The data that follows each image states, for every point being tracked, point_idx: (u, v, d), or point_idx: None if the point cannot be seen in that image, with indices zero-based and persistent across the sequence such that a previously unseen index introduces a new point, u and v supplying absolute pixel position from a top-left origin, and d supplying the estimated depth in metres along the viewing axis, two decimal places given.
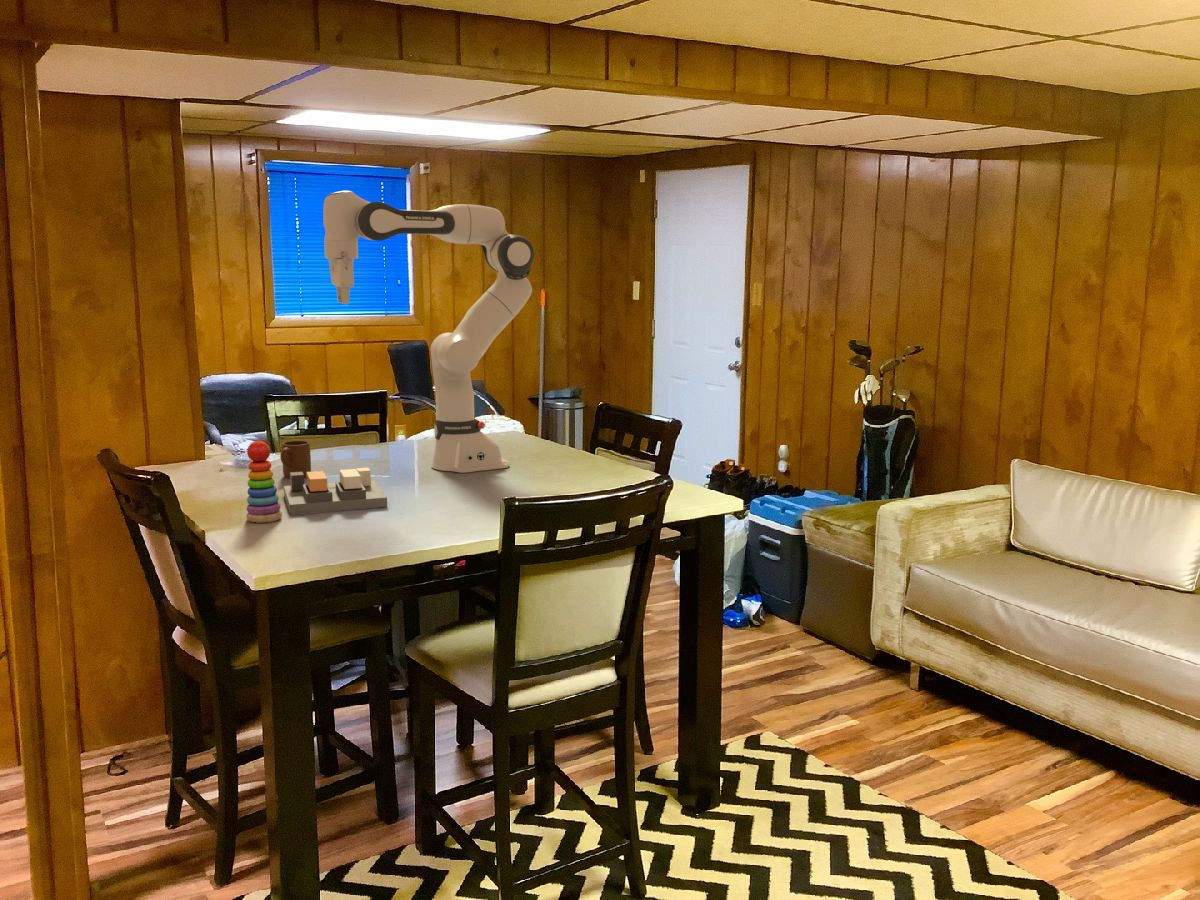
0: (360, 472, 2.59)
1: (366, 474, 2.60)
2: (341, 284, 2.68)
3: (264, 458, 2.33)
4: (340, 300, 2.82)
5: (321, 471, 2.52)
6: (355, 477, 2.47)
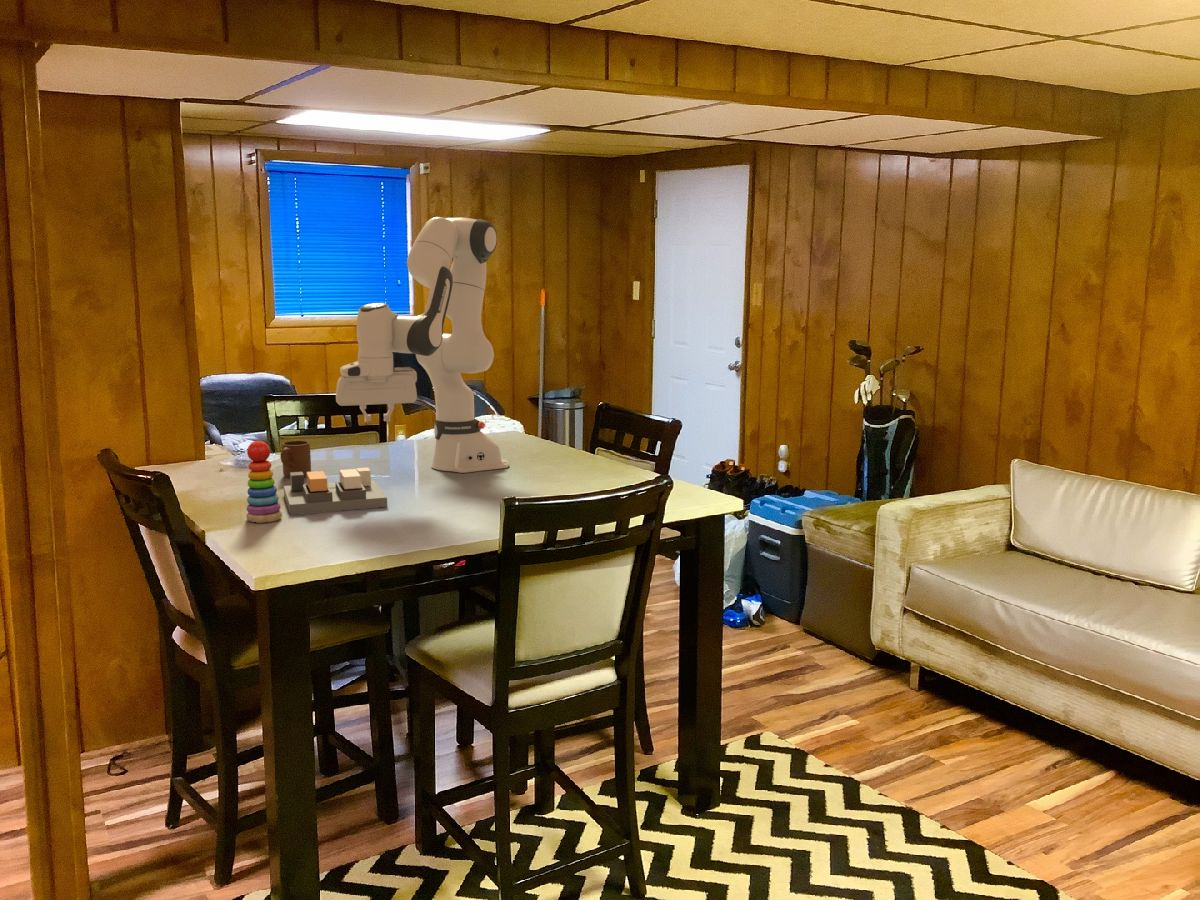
0: (360, 472, 2.59)
1: (366, 474, 2.60)
2: (415, 399, 2.61)
3: (264, 458, 2.33)
4: None
5: (321, 471, 2.52)
6: (355, 477, 2.47)
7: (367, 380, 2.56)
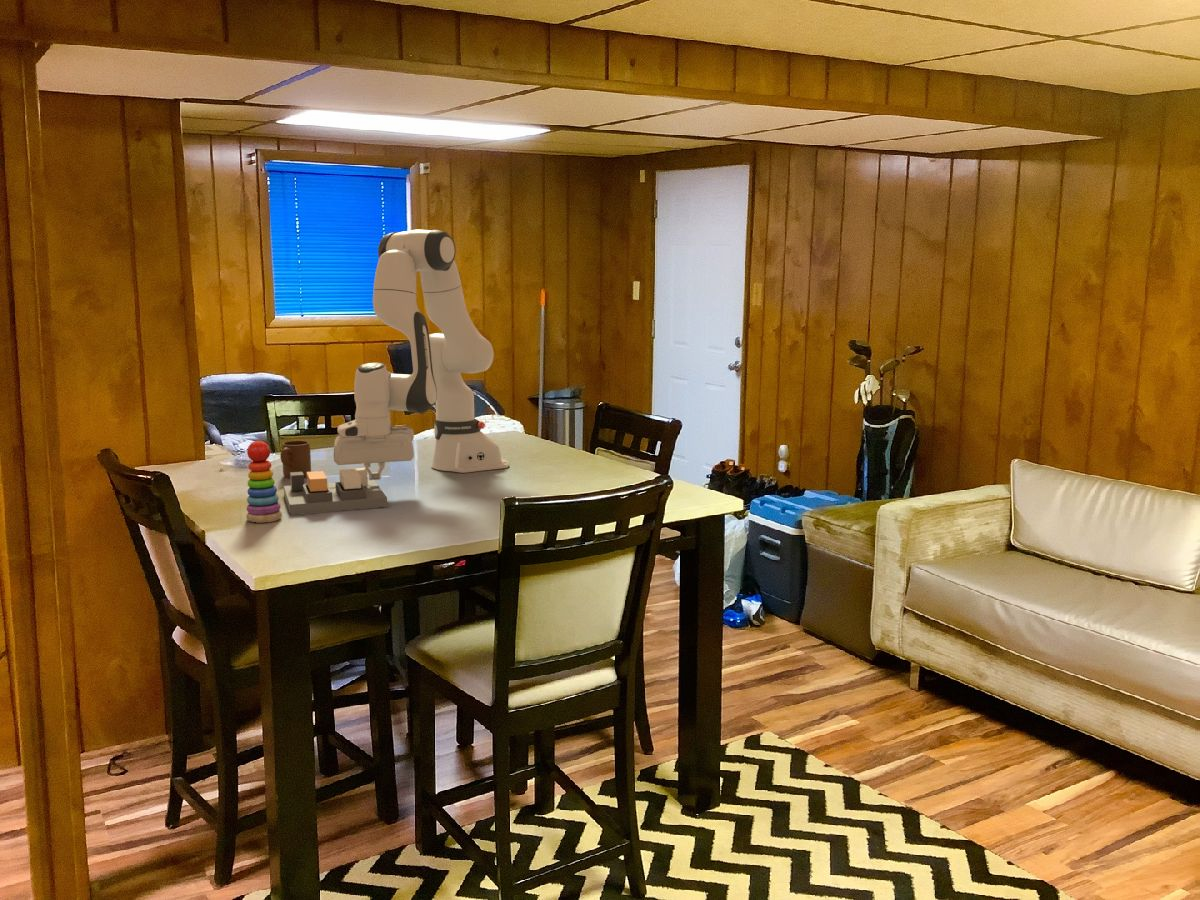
0: None
1: (363, 474, 2.59)
2: (412, 457, 2.64)
3: (264, 458, 2.33)
4: None
5: (321, 471, 2.52)
6: (355, 477, 2.47)
7: (364, 439, 2.58)
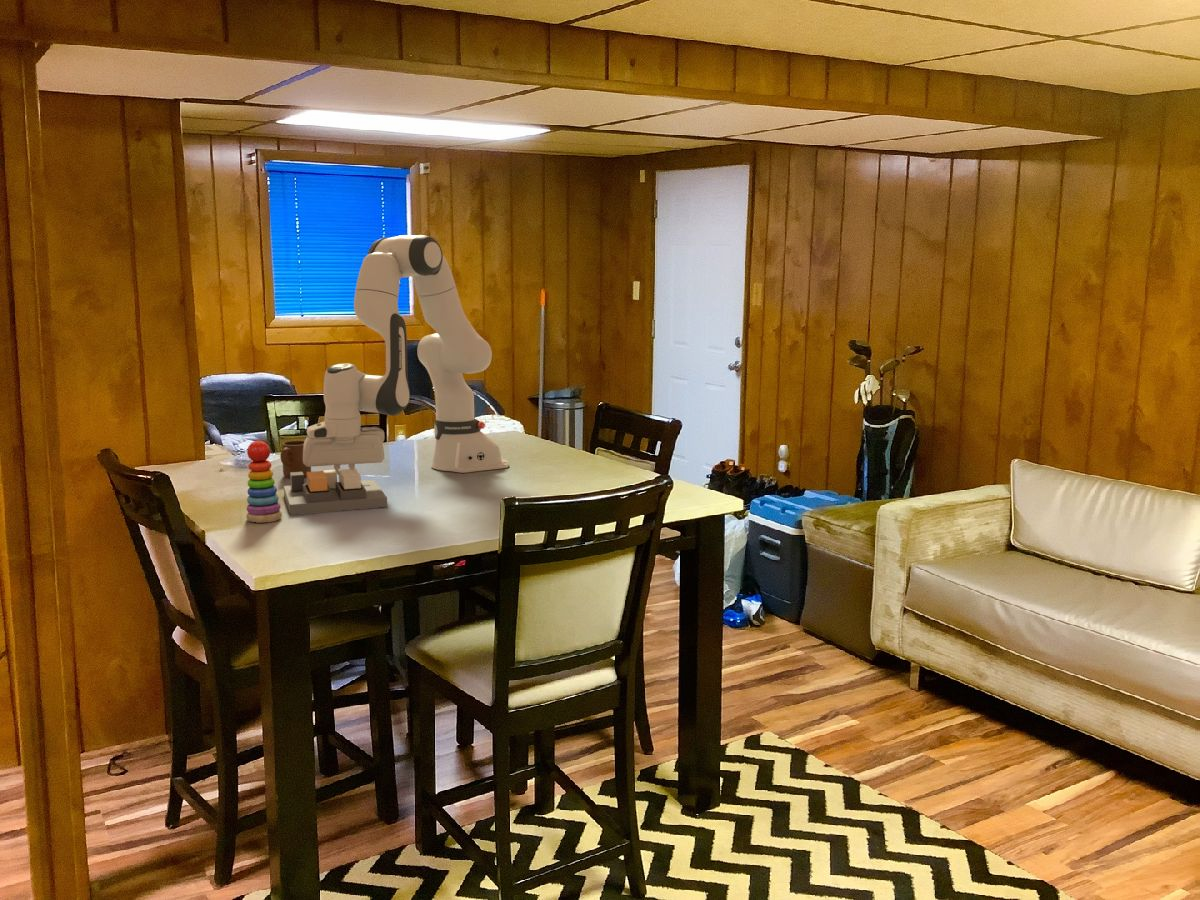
0: (326, 474, 2.56)
1: (332, 476, 2.57)
2: (383, 459, 2.61)
3: (264, 458, 2.33)
4: None
5: (321, 471, 2.52)
6: (355, 477, 2.47)
7: (334, 441, 2.55)
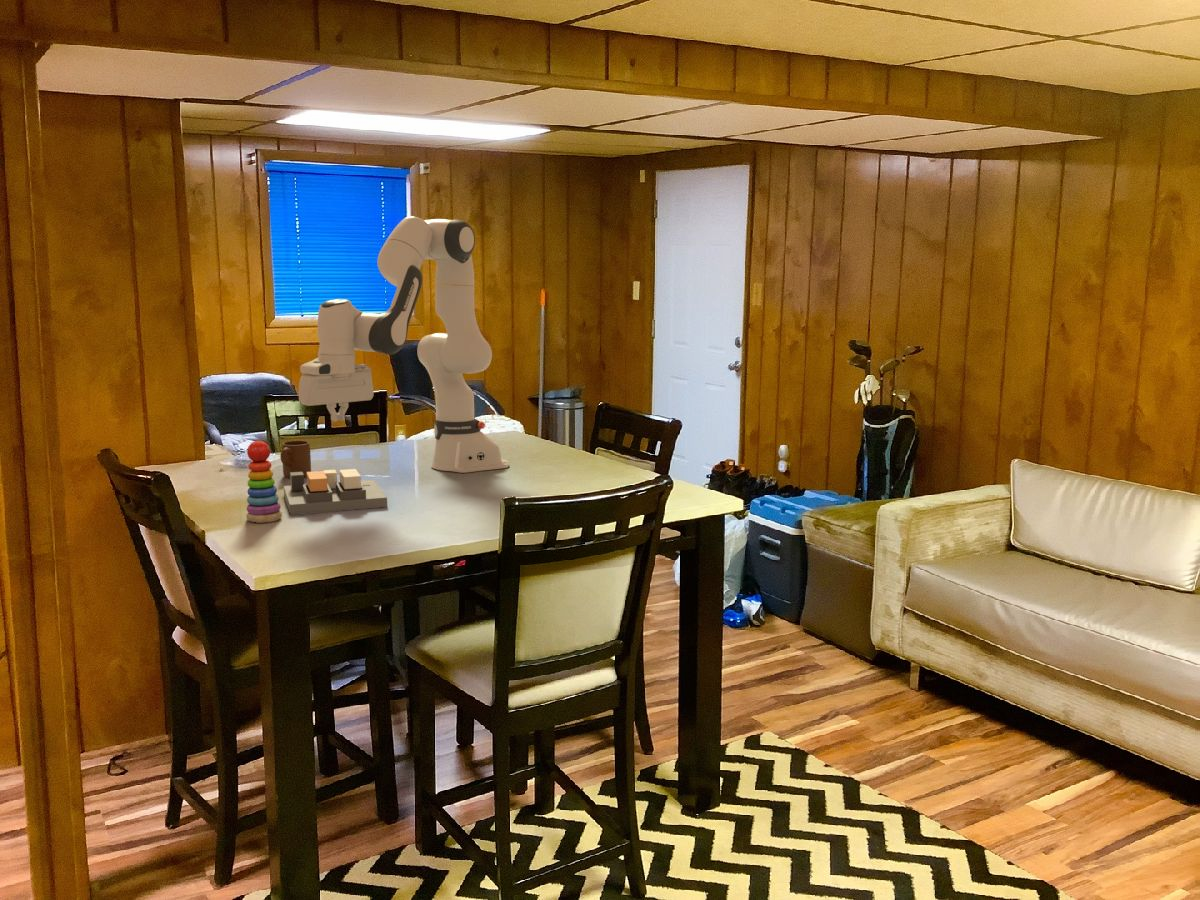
0: (326, 474, 2.56)
1: (332, 476, 2.57)
2: (372, 397, 2.59)
3: (264, 458, 2.33)
4: None
5: (321, 471, 2.52)
6: (355, 477, 2.47)
7: (333, 378, 2.49)
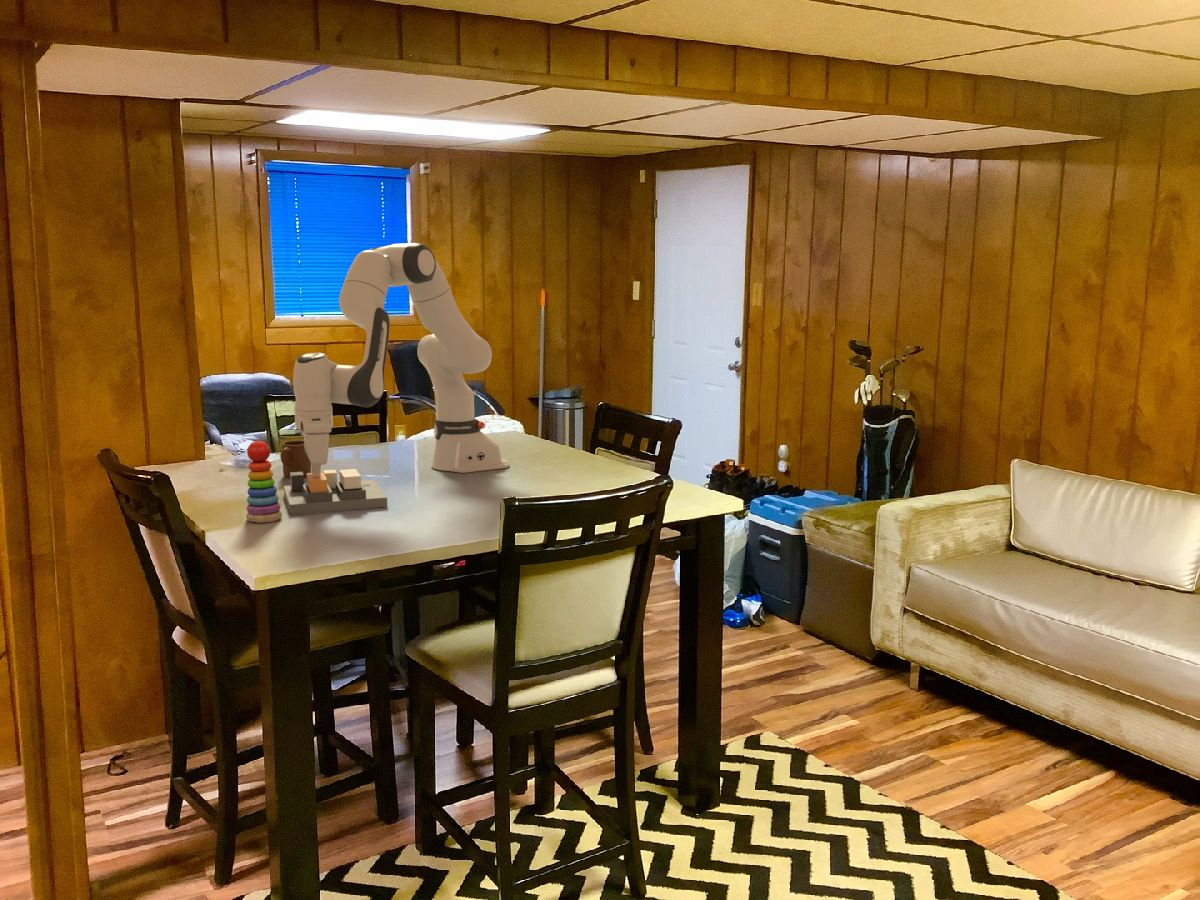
0: (326, 474, 2.56)
1: (332, 476, 2.57)
2: None
3: (264, 458, 2.33)
4: None
5: (321, 472, 2.53)
6: (355, 477, 2.47)
7: None
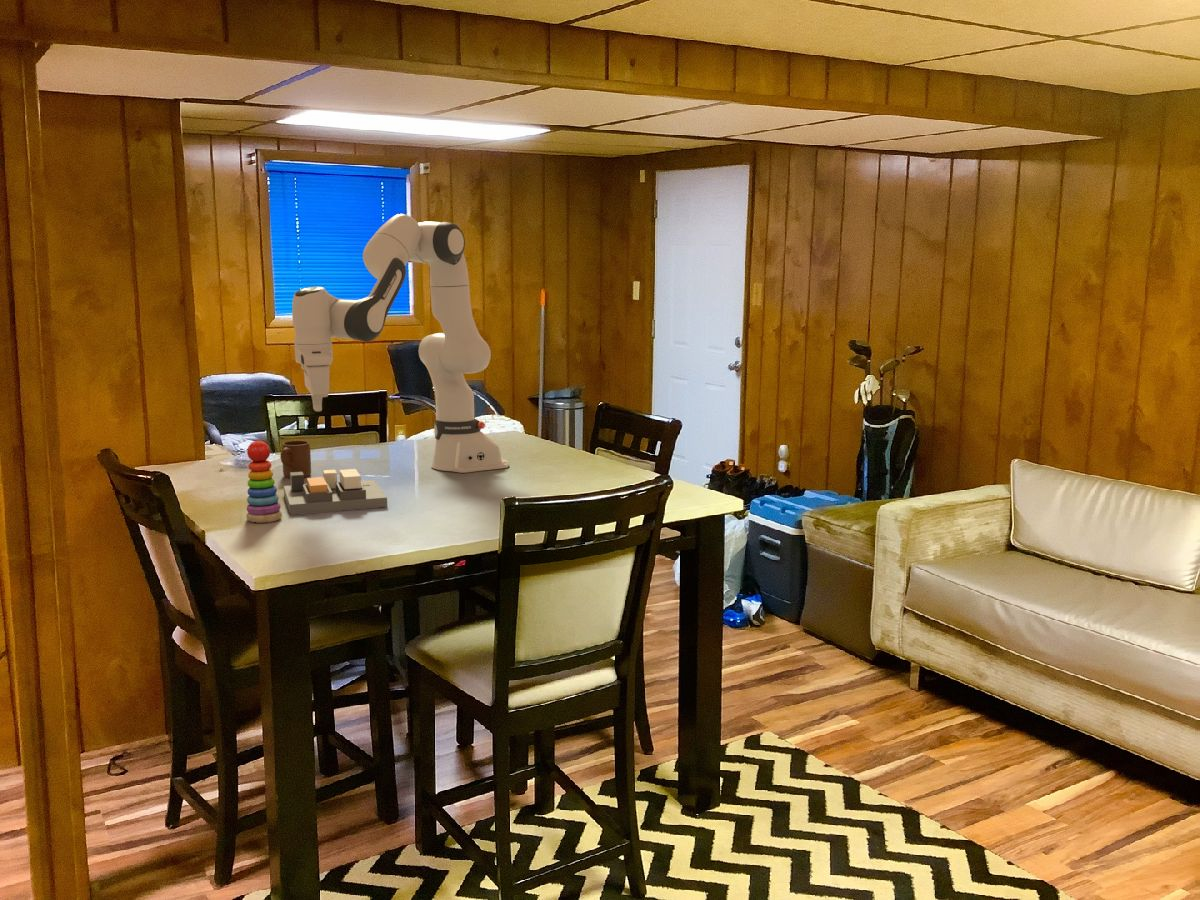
0: (326, 474, 2.56)
1: (332, 476, 2.57)
2: None
3: (264, 458, 2.33)
4: None
5: (321, 477, 2.53)
6: (355, 477, 2.47)
7: None
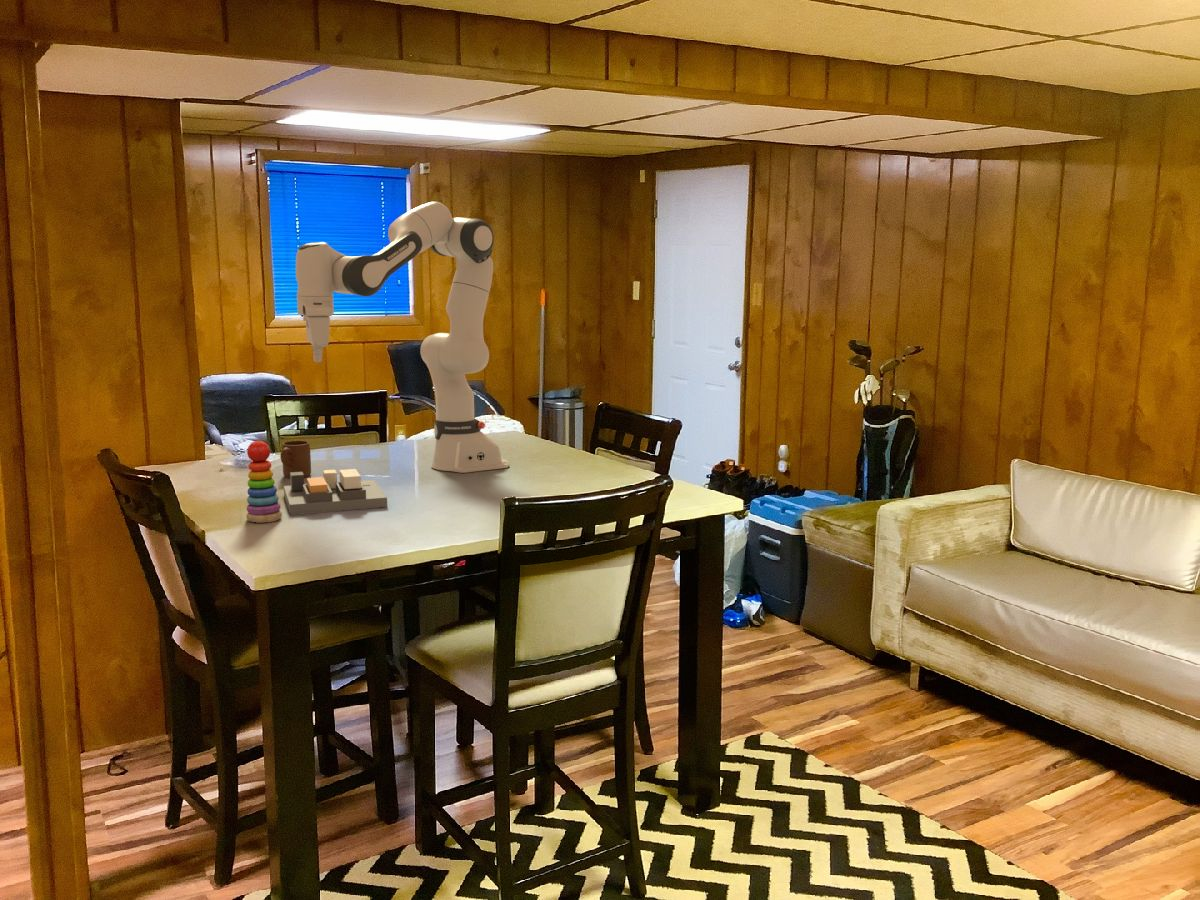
0: (326, 474, 2.56)
1: (332, 476, 2.57)
2: None
3: (264, 458, 2.33)
4: None
5: (321, 477, 2.53)
6: (355, 477, 2.47)
7: None
